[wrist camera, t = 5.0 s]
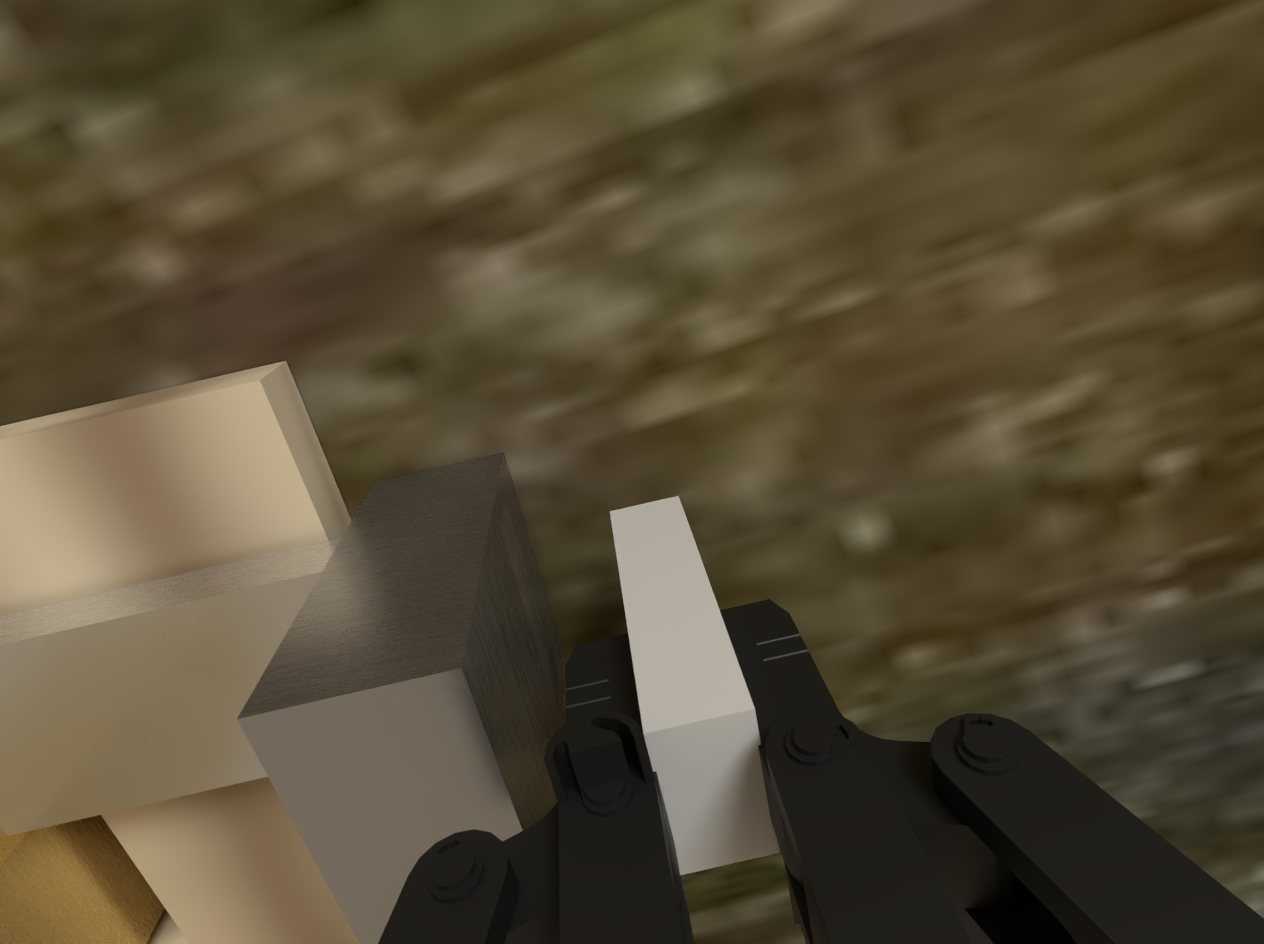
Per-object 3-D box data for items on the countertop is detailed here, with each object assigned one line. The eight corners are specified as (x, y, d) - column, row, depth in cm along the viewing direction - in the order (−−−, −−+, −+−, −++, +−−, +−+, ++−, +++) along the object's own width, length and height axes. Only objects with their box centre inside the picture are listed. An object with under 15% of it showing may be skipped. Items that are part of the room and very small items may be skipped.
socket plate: (285, 361, 16) (259, 380, 14) (545, 995, 25) (544, 1045, 23) (-719, 590, 16) (-841, 632, 14) (-102, 1142, 25) (-142, 1201, 23)
